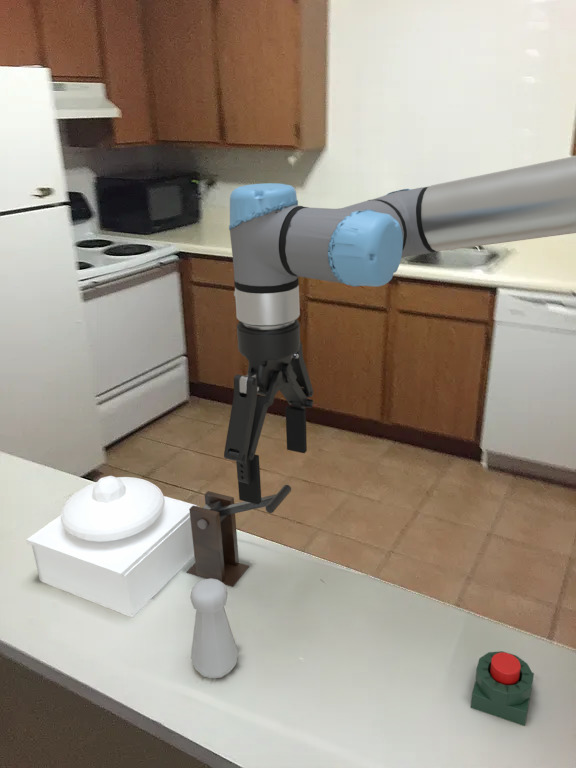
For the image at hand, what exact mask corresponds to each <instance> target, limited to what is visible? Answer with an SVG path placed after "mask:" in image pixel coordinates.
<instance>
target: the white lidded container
mask: <svg viewBox="0 0 576 768" xmlns="http://www.w3.org/2000/svg"><path fill="white" fill-rule="evenodd" d="M192 506H197V507H198V505H197V504H193V503H190V502H186V501H184V500H180V499H175V498H173V497H170V496H165V495H164V494H163V492H162V490H161V489H160V488H159V487H158V486H157V485H155V484H154V483H152V482H150V481H148V480H146V479H143V478H139V477H131V476H130V477H129V476H117V477H116V476H113V475H108V476H103V477H100V478H99V479H98V480H97V481H95V482H93V483H91V484H88V485H86V486H84V487H82V488H80V489H79V490H77V491H76V492H75V493H73V494H71V496H70V497H69V498H68V499H67V501H66V502H65V503H64V504H63V506H62V508H61V512H60V515H59V516H57V517H55V518H54V519H53V520H51V521H50V522H49V523H47V524H46V525H45V526H43V527H42V528H40V529H38V530H37V531H36V532H35V533H33V534H31V536H29V537H28V538H26V539H25V540H26V544H27V545H30V546H31V547H32V552H33V556H34V561H35V565H36V569H37V574H38V579H39V582H42V583H44V584H46V585H49V586H51V587H54V588H57V589H59V590H62V591H64V592H67V593H69V594H72V595H74V596H76V597H79V598H81V599H83V600H87V601H89V602H92V603H94V604H97V605H100V606H102V607H104V608H107V609H110V610H112V611H114V612H117V613H119V614H122V615H125V616H127V617H129V618H133V617H135V616H136V615H137V614H138V613H139V612H140V611H141V610H142V609H143V608H144V607H145V606H146V605H147V604H148V603H149V602H150V601H151V600H152V599H153V598H154V597H155V596H156V595H157V594H158V593H159V592H160V591H161V590H162V589H163V588H164V587H165V586H166V585H167V584H168V583H169V582H170V581H171V580H172V579H173V578H174V577H175V576H176V575H177V574H178V573H179V572H180V571H181V569H183V568H184V567H185V566H186V565H187V564H188V563H189V562H190V561H191V560H192V559H193V558H195V556H194V547H193V538H192V529H191V520H190V511H189V509H190V508H191V507H192Z"/></svg>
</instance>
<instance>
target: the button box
mask: <svg viewBox="0 0 576 768" xmlns="http://www.w3.org/2000/svg"><path fill="white" fill-rule="evenodd" d="M502 652H503V653H507V652H506V651H501V650H500V651H499V650H498V651H489V652H486V653H485V654H484V655H483V656H481V657H479V659H478V661H477V665H476V668H475V669H476V671H475V681H474V686H473V689H472V693H471V701H470V708H471V709H473V710H476V711H479V712H481V713H485V714H488V715H491V716H494V717H497V718H500V719H502V720H505V721H509V722H511V723H514V724H518V725H520V726H523V727H525V726H526V722H527V715H528V710H529V706H530V700H531V694H532V688H533V682H534V675H535V673H534V672H532V670H531V668H530V666H529V664H528V663H527V662H525V661H524V660H523V659H522V658H520V657H519V656H518V655H516V654H513V653H510V652H508V653H509V654H511V655H513V656H515V657H516V658H517V659H518V660H519V662H520V665H521V668H520V676H519V680H518V681H517V682H516V683H515V684H513V685H504V684H501V683H498V682H497V681H495V680H494V679H493V677H492V676H491V673H490V668H491V660H492V657H493V656H494V655H495V654H497V653H502Z"/></svg>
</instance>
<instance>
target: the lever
mask: <svg viewBox="0 0 576 768" xmlns="http://www.w3.org/2000/svg"><path fill="white" fill-rule="evenodd" d="M291 492H292V487H291V486H290V485H289V484H284V485H283V486H282V487H281V488H280V489H279V490H278V492H277V493H276V494H271V495H266V496H261V501H262V502H261V503H260V504H259V505H258V504H254V503H250V502H246V501H241V502H237V503H234V504H232V505H228V506H222V504H221V502H220V501H218V502H214V503H210V504H206V505H203V507H202V508H205V509H209V510H213V511H217V512H219V513H220V522H221V521H222V520H223V519H224V518H225V517H226V516H227V515H230V514H234V513H235V514H238V513H243V512H247V511H251V510H256V509H260V508H265V511H266V512H267V513H268V514H273V513H274V512H275V511H276V510H277V508H279V506H280V505H281V504H282V503H283V501H284V500H285V499H286V498H287V496H288V495H289V494H290V493H291Z"/></svg>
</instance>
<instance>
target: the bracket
mask: <svg viewBox="0 0 576 768" xmlns="http://www.w3.org/2000/svg"><path fill="white" fill-rule="evenodd" d="M203 495H204V504H205V505H206V504H210V503H214V502H218V501H220V502H221V504H222V506H228V505H232V504H235V497H234V496H230V495H226V494H222V493H217V492H213V491H209V490H207V491H206V492H205V493H204V494H203ZM205 505H204V506H205ZM189 511H190V520H191V529H192V538H193V547H194V563H193V564H192V565H191V566H190V567H189V569H188V570H186V574H188V575H193V576H195V577H199V578H202V579H210V578H212V579H217V580H219V581H221V582H222V583H224V585H225V586H228V587H230V588H234V587H235V586H236V584H237V583H238V582H239V580H240V579H241V578H242V577H243V575H244V574H245V573H246V572H247V571H248V569H249V568H250V565H249V564H245V563H241V562H240V559H239V557H240V556H239V546H238V532H237V531H238V530H237V522H236V513H234V514H230V515H227V516H226V517H225V518H224V519H223V520H222V521H221V522H220V513H219V512H217V511H213V510H209V509H205V508H203V507H201V506H198V505H197V506H192V507H191V508H190V509H189Z"/></svg>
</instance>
